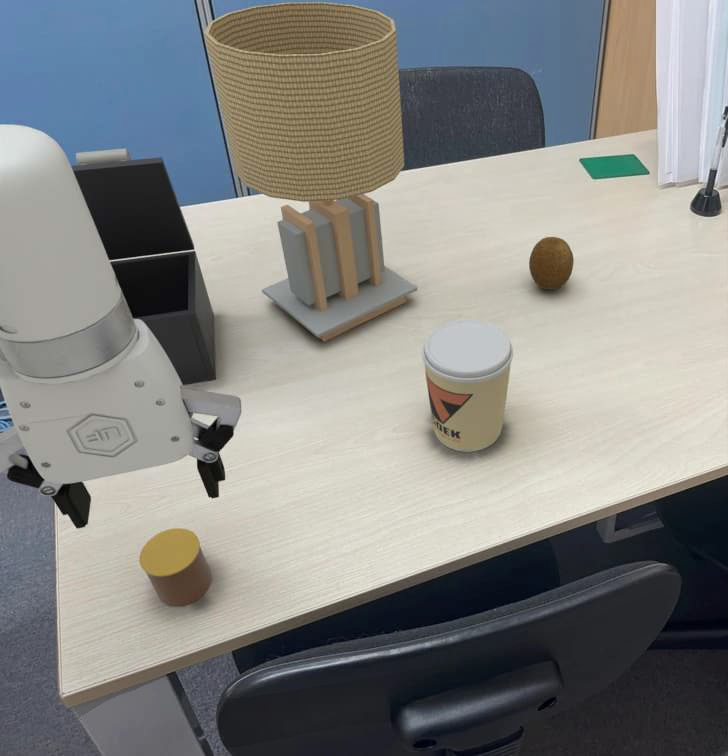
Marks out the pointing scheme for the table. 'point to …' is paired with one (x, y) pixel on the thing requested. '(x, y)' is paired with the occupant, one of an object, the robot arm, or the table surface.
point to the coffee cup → (467, 382)
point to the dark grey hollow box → (173, 309)
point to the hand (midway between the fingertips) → (150, 499)
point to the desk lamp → (317, 147)
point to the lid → (131, 204)
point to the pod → (176, 566)
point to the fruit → (551, 263)
